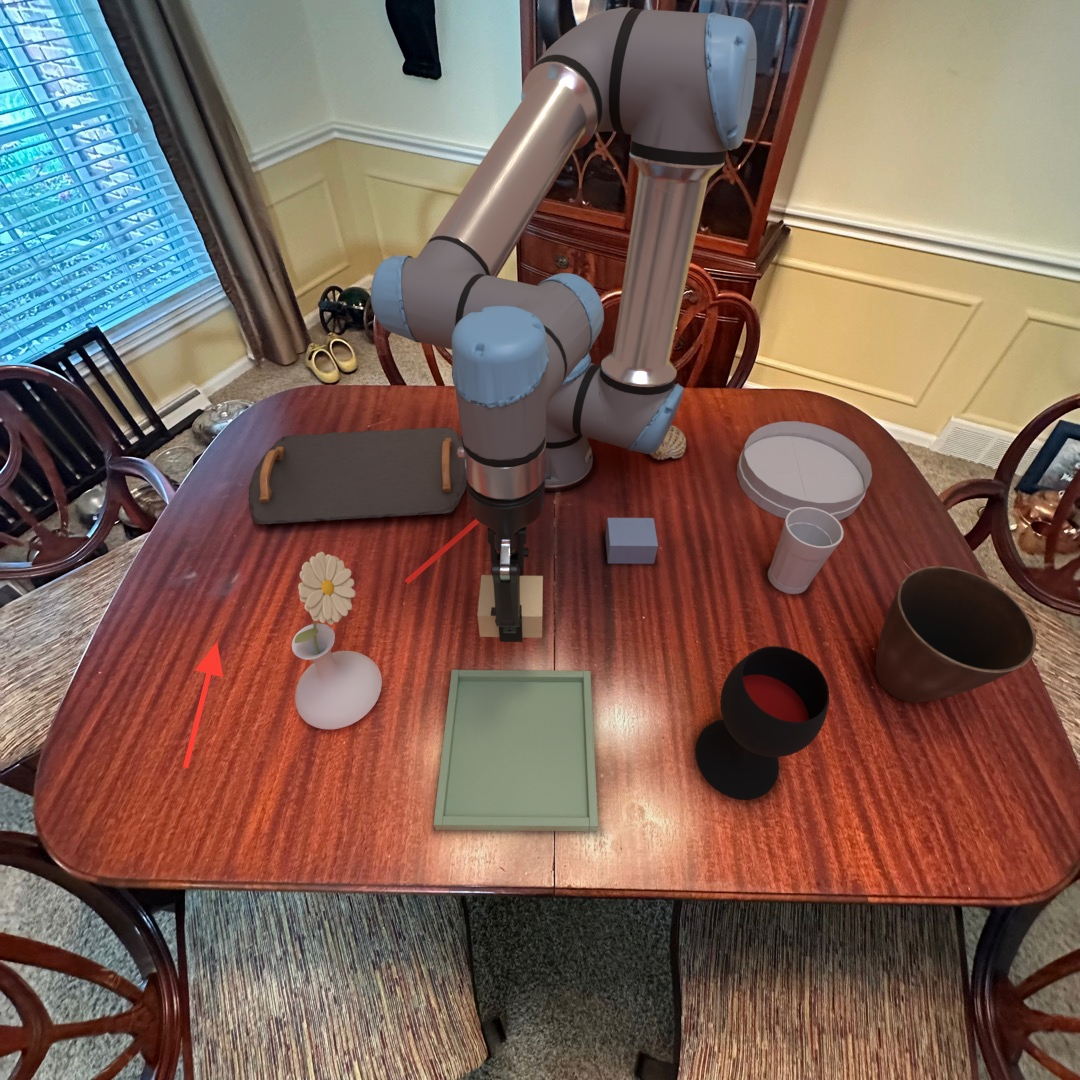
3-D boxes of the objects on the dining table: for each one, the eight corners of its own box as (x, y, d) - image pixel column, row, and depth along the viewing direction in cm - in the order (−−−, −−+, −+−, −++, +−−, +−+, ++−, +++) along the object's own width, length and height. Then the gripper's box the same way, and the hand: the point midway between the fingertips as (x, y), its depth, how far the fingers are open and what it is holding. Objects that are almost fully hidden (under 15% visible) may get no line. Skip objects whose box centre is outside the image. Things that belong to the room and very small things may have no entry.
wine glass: (686, 722, 79) (720, 642, 64) (763, 716, 80) (814, 635, 65) (707, 804, 72) (751, 736, 57) (791, 796, 73) (856, 727, 58)
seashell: (642, 449, 120) (647, 463, 111) (645, 419, 118) (650, 430, 108) (681, 451, 120) (689, 465, 110) (685, 421, 117) (693, 432, 108)
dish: (742, 518, 104) (749, 498, 100) (730, 437, 118) (737, 416, 114) (875, 529, 102) (888, 509, 98) (847, 445, 116) (857, 425, 113)
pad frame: (435, 830, 71) (433, 824, 69) (453, 676, 84) (451, 669, 82) (597, 831, 71) (598, 826, 69) (589, 677, 84) (590, 670, 82)
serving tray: (241, 536, 101) (226, 510, 96) (270, 446, 116) (259, 421, 112) (471, 522, 103) (468, 496, 98) (470, 436, 118) (467, 410, 114)
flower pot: (987, 698, 82) (1065, 635, 69) (914, 752, 77) (984, 694, 65) (895, 618, 90) (950, 549, 78) (824, 661, 85) (871, 595, 73)
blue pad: (607, 563, 97) (610, 545, 94) (605, 535, 101) (607, 517, 98) (654, 564, 97) (658, 545, 94) (649, 536, 101) (653, 517, 98)
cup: (816, 602, 92) (847, 551, 83) (763, 593, 93) (787, 543, 84) (812, 562, 97) (839, 511, 88) (761, 554, 98) (783, 503, 89)
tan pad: (479, 636, 72) (477, 615, 69) (483, 596, 76) (481, 574, 73) (541, 637, 72) (542, 616, 69) (542, 597, 76) (542, 575, 73)
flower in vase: (342, 751, 77) (278, 649, 58) (280, 706, 81) (202, 598, 62) (409, 673, 84) (371, 560, 65) (349, 636, 88) (297, 519, 69)
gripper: (474, 415, 63) (487, 557, 81) (455, 551, 51) (475, 685, 68) (545, 416, 63) (543, 558, 81) (544, 552, 51) (541, 686, 68)
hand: (512, 615), depth 74 cm, fingers closed on tan pad, 6 cm apart
